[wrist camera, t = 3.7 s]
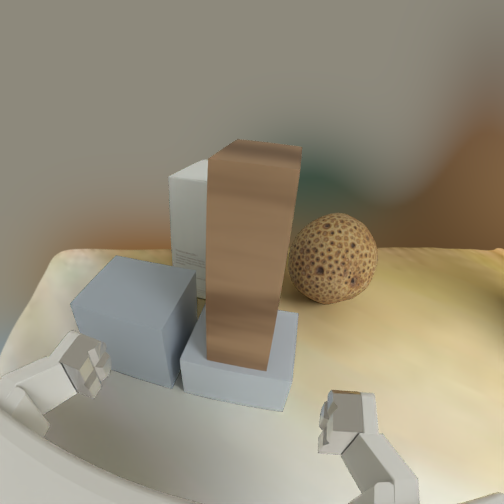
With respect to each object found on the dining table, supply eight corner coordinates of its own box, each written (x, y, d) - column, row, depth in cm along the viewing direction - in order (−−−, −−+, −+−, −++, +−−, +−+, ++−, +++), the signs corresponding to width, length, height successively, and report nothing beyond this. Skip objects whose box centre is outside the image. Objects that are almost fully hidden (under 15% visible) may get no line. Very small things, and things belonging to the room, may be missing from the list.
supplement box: (258, 272, 36) (270, 167, 30) (236, 310, 30) (245, 186, 24) (201, 258, 38) (203, 157, 32) (171, 291, 32) (166, 174, 26)
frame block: (266, 371, 19) (299, 169, 12) (206, 359, 19) (207, 158, 13) (276, 313, 24) (302, 147, 18) (226, 304, 25) (236, 139, 18)
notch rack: (282, 411, 20) (299, 357, 17) (91, 362, 22) (69, 303, 19) (290, 346, 26) (304, 288, 23) (126, 312, 28) (116, 255, 25)
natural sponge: (352, 341, 27) (386, 250, 22) (267, 313, 30) (280, 220, 25) (365, 291, 34) (389, 214, 30) (295, 270, 37) (309, 192, 32)
